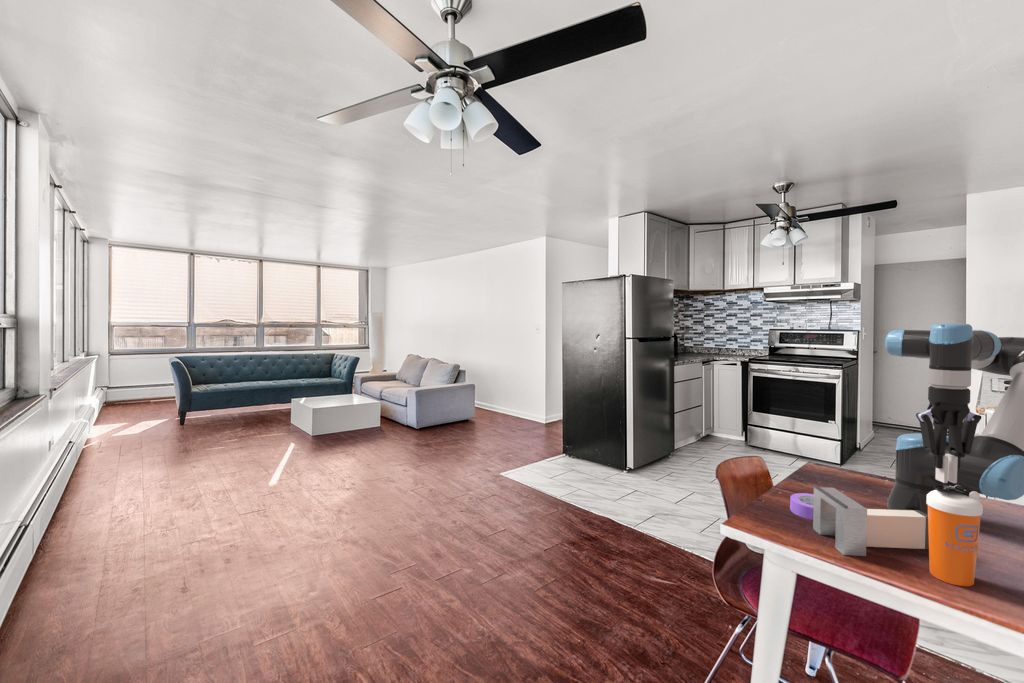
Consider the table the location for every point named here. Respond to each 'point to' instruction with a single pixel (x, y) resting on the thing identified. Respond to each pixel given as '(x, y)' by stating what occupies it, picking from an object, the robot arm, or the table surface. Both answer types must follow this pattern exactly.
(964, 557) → the shaker bottle
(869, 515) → the cream rectangular block
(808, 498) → the masking tape
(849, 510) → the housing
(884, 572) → the table surface
